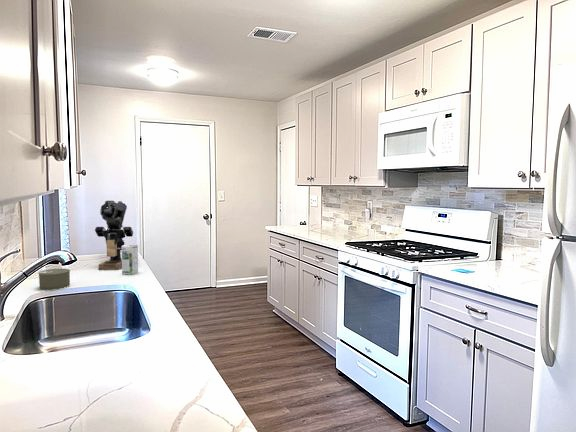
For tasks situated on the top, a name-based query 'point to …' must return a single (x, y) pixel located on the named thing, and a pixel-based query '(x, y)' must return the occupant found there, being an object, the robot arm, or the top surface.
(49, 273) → the can
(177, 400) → the top surface
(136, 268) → the syrup box
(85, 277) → the top surface
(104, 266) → the walnut collar stand
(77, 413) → the top surface
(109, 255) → the tan wooden block
